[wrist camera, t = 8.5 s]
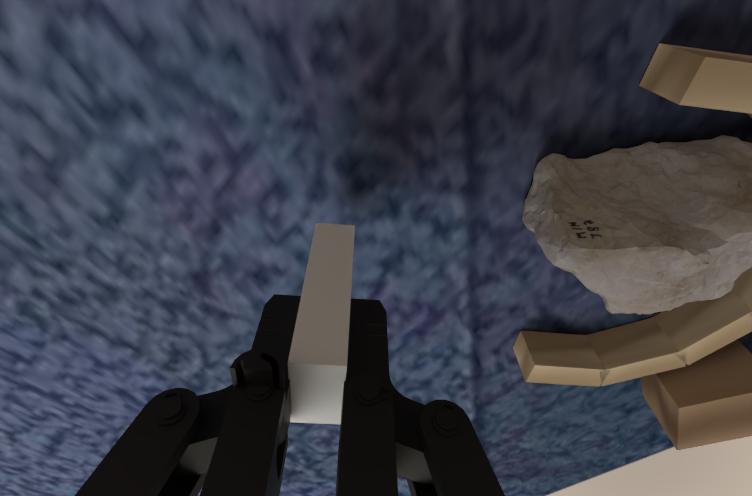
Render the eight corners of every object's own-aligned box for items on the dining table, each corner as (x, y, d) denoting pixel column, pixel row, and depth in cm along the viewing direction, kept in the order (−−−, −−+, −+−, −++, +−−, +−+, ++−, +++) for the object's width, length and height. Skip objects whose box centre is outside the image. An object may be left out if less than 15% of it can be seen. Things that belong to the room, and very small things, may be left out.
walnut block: (639, 350, 25) (678, 408, 22) (727, 328, 24) (782, 386, 21) (641, 393, 28) (676, 450, 25) (720, 375, 27) (768, 432, 24)
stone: (669, 278, 22) (751, 369, 17) (491, 264, 21) (523, 353, 16) (771, 134, 17) (923, 204, 12) (543, 111, 16) (610, 175, 12)
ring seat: (659, 43, 15) (705, 57, 13) (916, 77, 16) (998, 96, 13) (512, 346, 25) (525, 381, 23) (674, 358, 25) (701, 392, 23)
